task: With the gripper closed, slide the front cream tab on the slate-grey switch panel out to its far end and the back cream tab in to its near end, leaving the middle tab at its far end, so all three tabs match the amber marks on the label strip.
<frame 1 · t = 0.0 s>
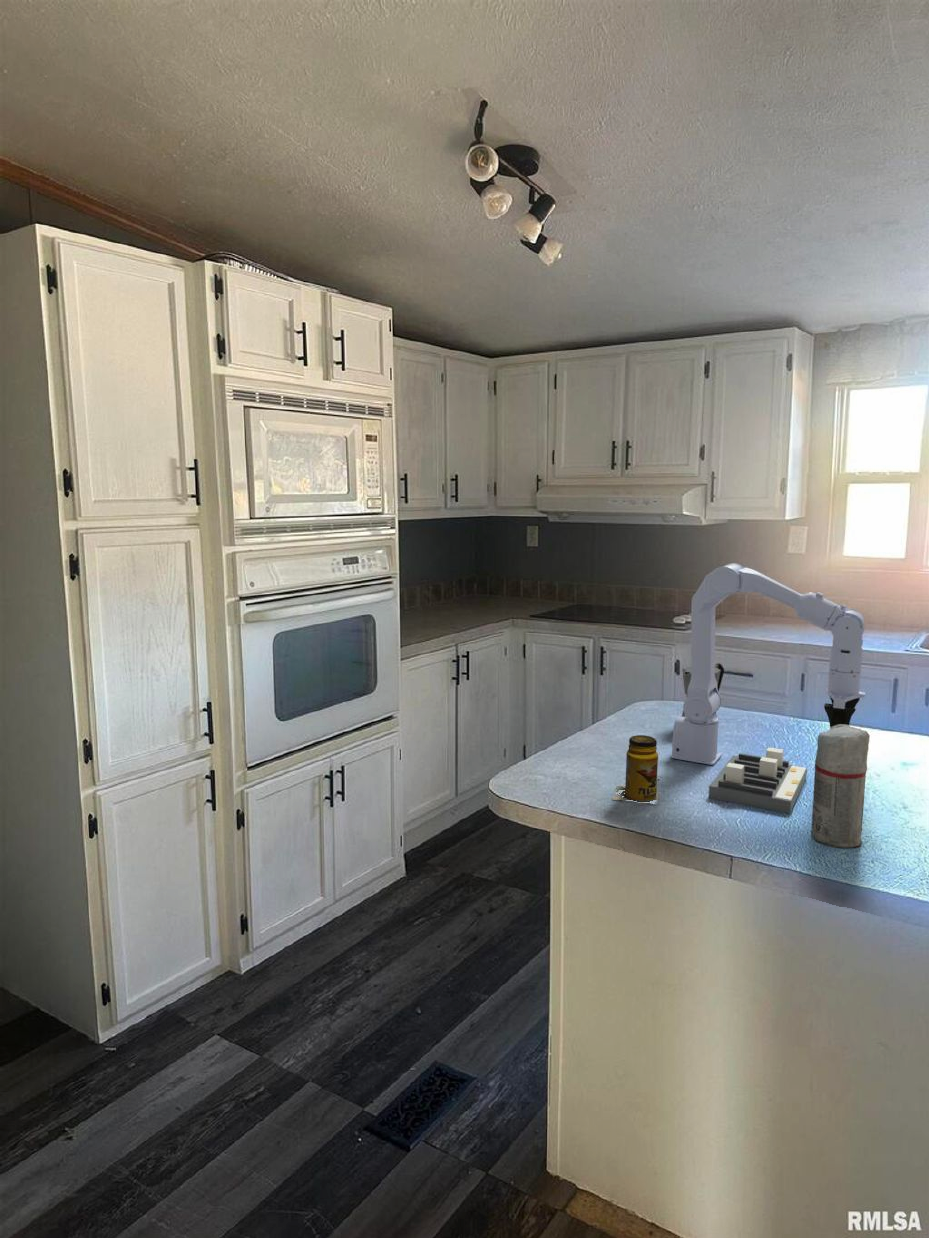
hand: (839, 734, 161), 10 cm above the countertop, tool pointing down, fingers open, 7 cm apart
condiment: (636, 797, 155), on the countertop
tab middle: (768, 768, 157), point 4 cm above the countertop, slide at 5.0 cm
tab back: (774, 758, 163), point 4 cm above the countertop, slide at 5.0 cm
coffeepot: (701, 726, 201), on the countertop
switch panel: (759, 787, 159), on the countertop
tab front: (734, 774, 154), point 4 cm above the countertop, slide at 0.0 cm
spray can: (835, 840, 136), on the countertop
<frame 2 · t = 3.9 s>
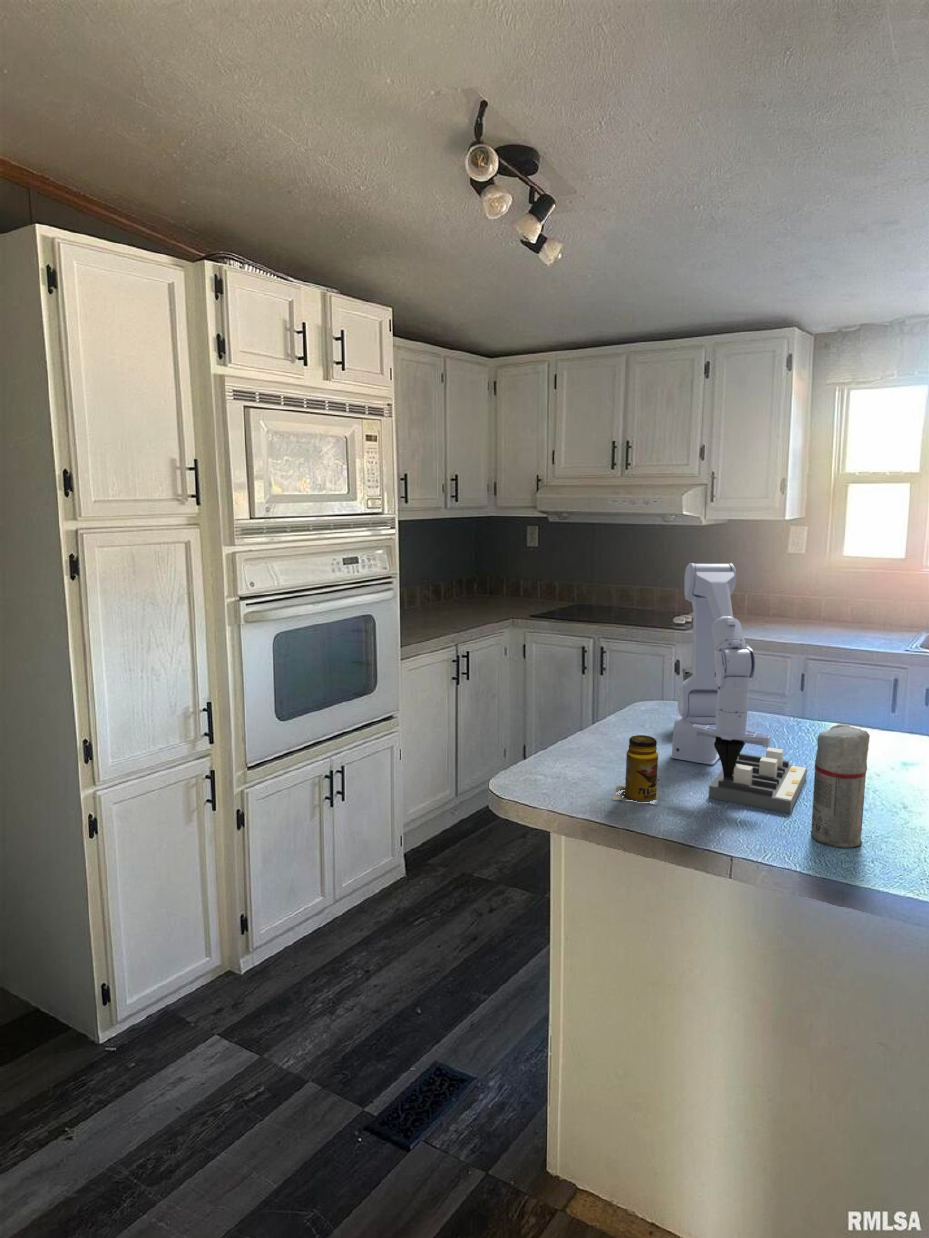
hand: (728, 775, 155), 4 cm above the countertop, tool pointing down, fingers closed
tab front: (743, 775, 153), point 4 cm above the countertop, slide at 1.6 cm, touching gripper
everything else where it was.
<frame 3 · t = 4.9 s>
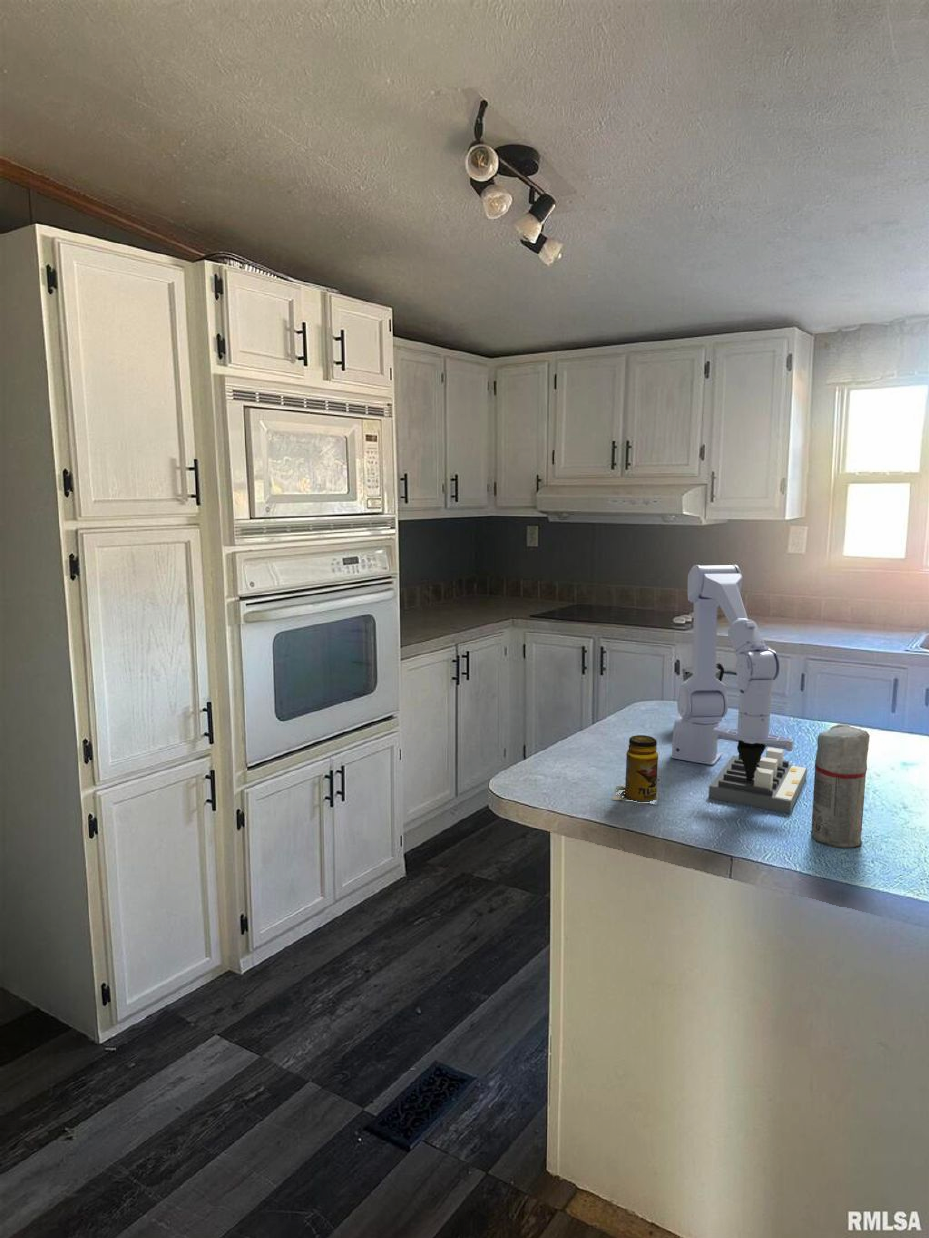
hand: (750, 779, 153), 4 cm above the countertop, tool pointing down, fingers closed
tab front: (763, 779, 151), point 4 cm above the countertop, slide at 5.4 cm, touching gripper
everything else where it was.
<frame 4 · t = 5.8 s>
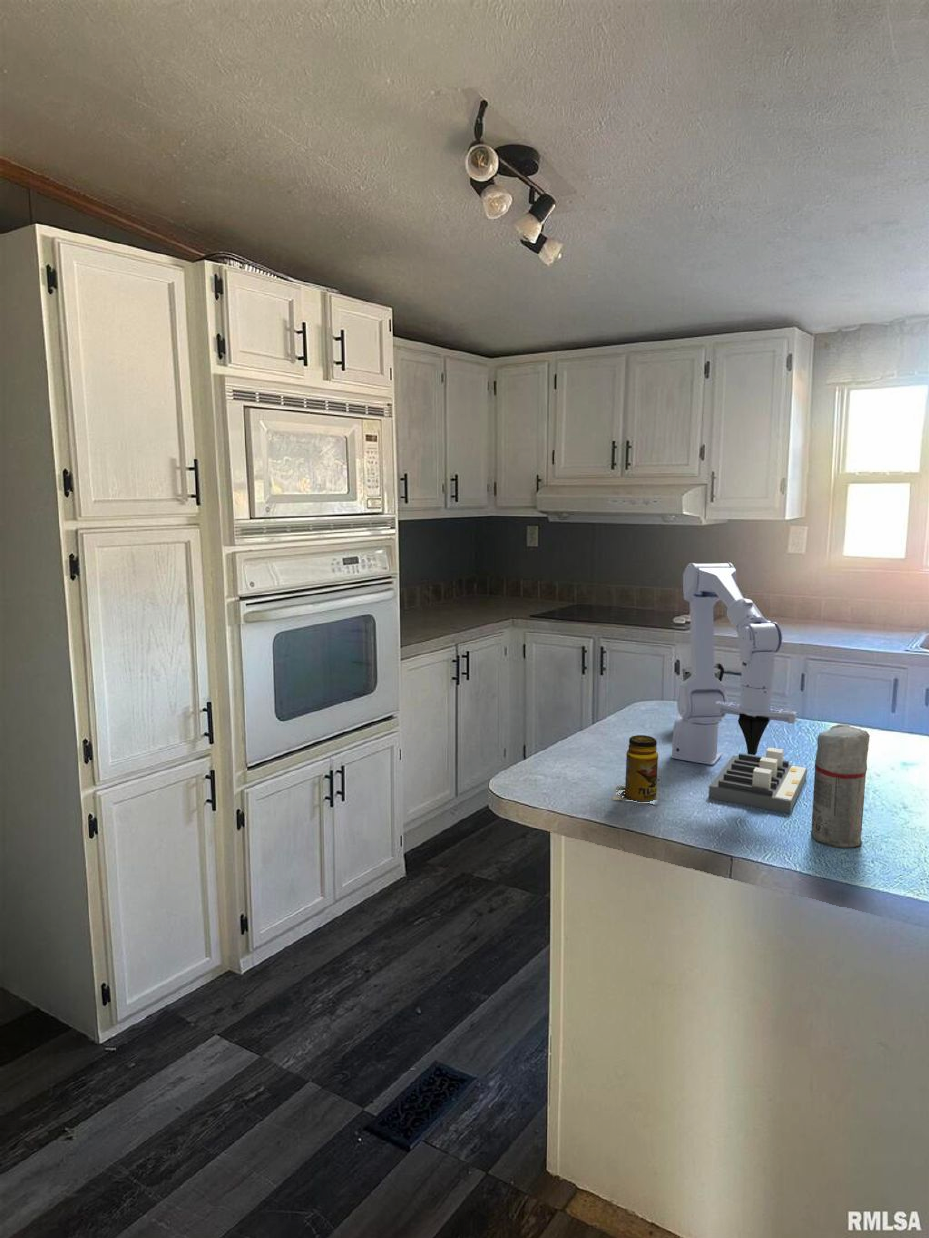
hand: (752, 753, 152), 9 cm above the countertop, tool pointing down, fingers closed
tab front: (761, 779, 152), point 4 cm above the countertop, slide at 5.1 cm
everything else where it was.
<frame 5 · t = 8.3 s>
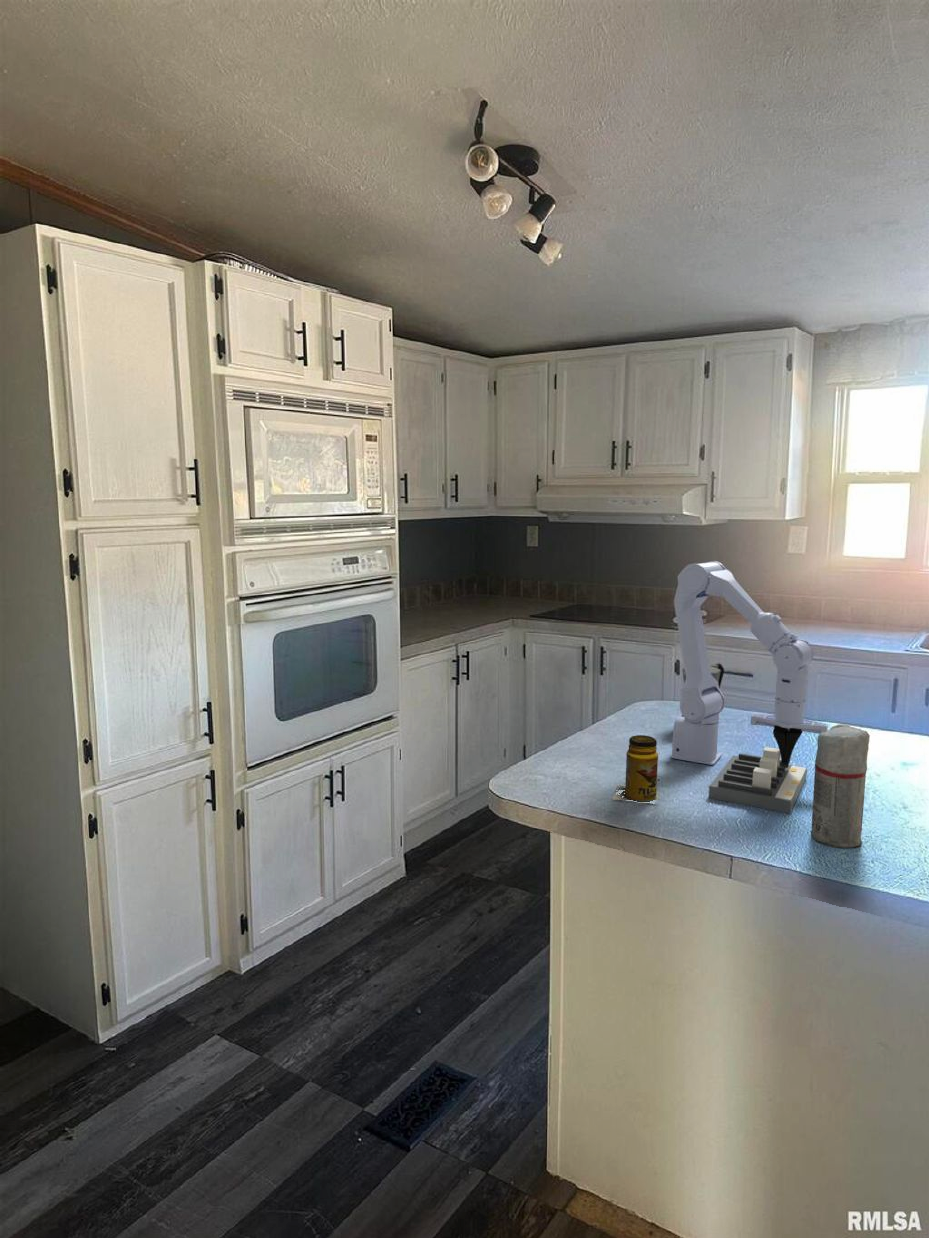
hand: (785, 762, 162), 4 cm above the countertop, tool pointing down, fingers closed
tab back: (771, 757, 164), point 4 cm above the countertop, slide at 4.4 cm, touching gripper
everything else where it was.
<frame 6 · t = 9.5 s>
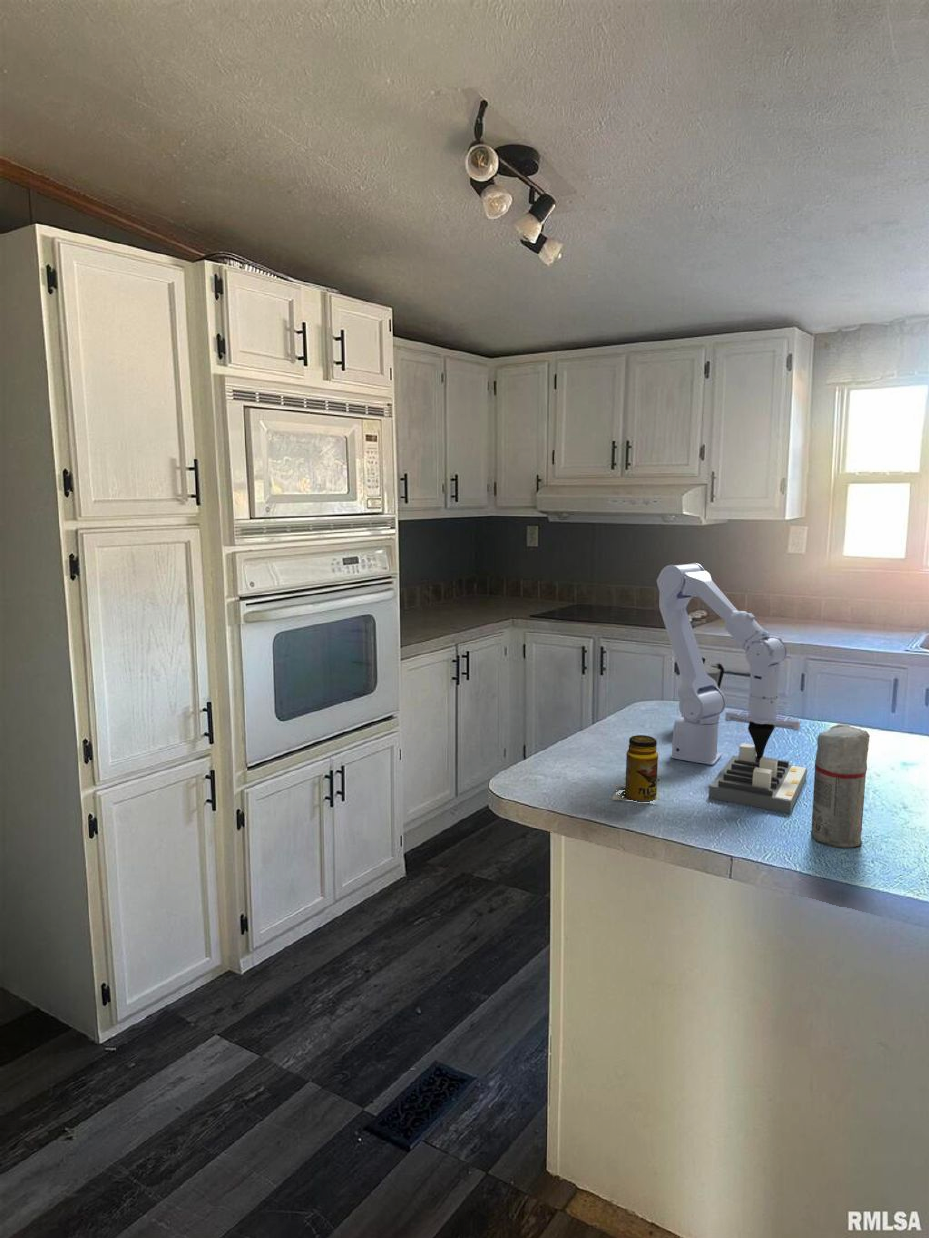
hand: (759, 758, 165), 4 cm above the countertop, tool pointing down, fingers closed
tab back: (747, 753, 166), point 4 cm above the countertop, slide at -0.4 cm, touching gripper
everything else where it was.
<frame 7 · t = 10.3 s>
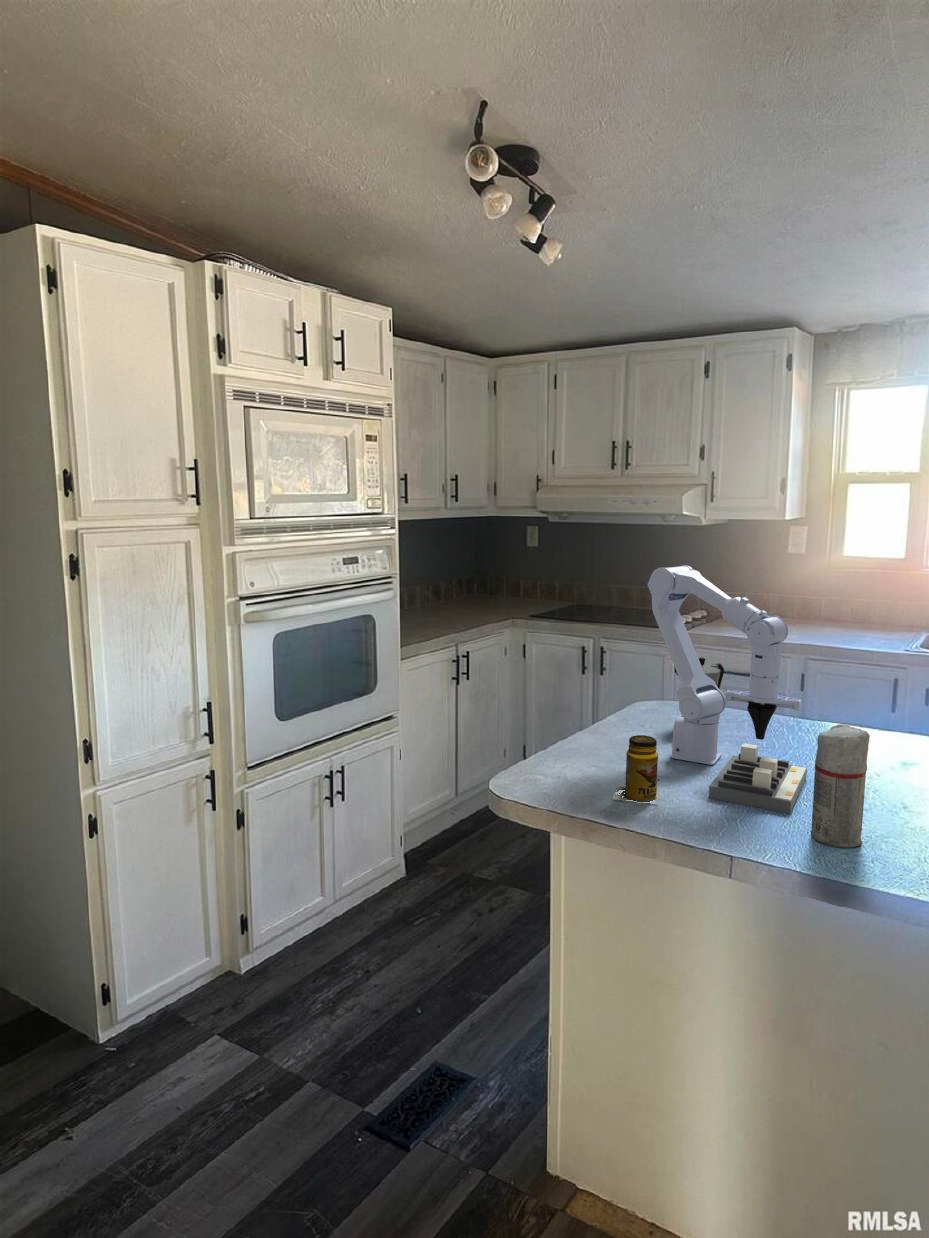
hand: (760, 738, 164), 8 cm above the countertop, tool pointing down, fingers closed
tab back: (749, 754, 166), point 4 cm above the countertop, slide at -0.1 cm
everything else where it was.
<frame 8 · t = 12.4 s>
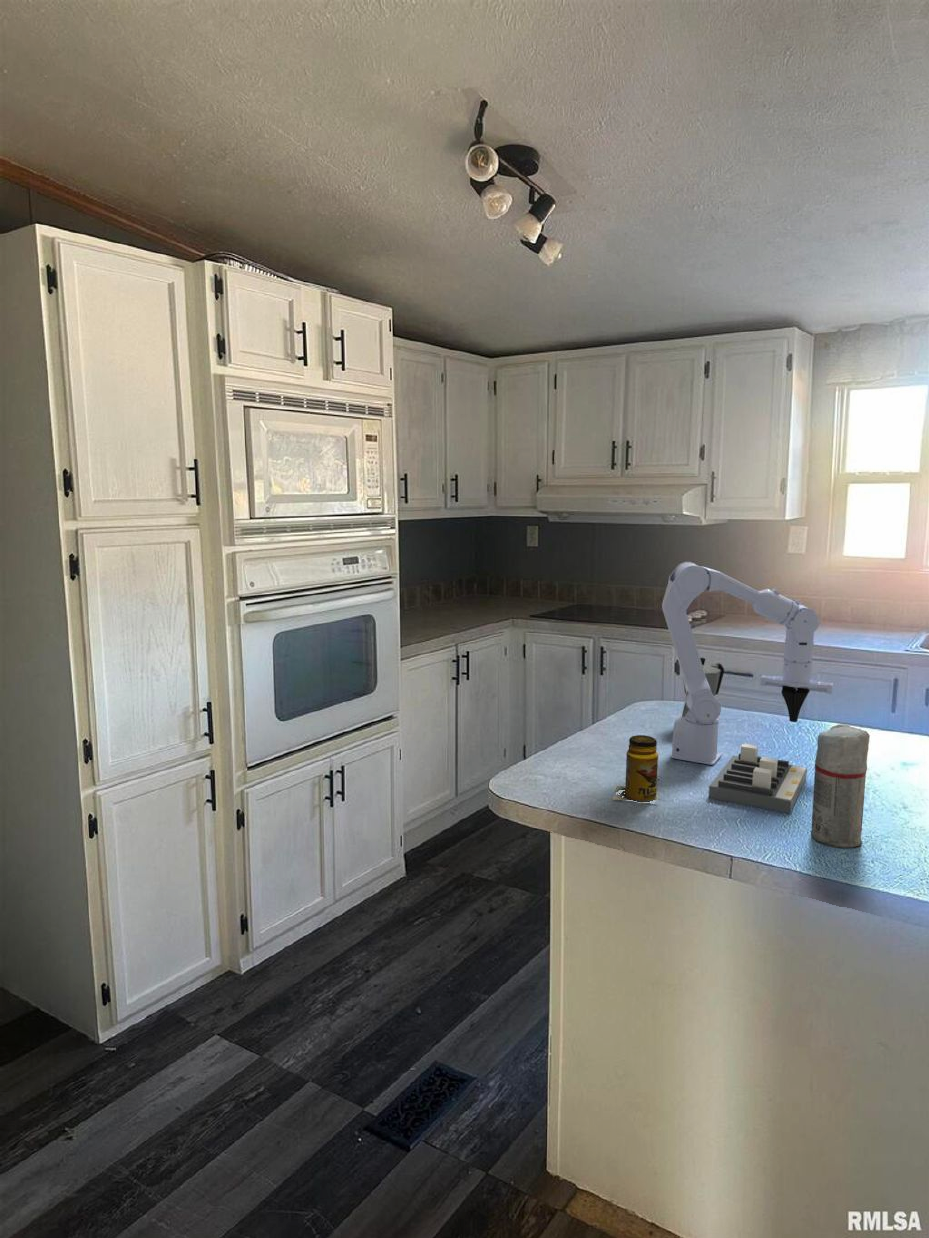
hand: (793, 720, 173), 9 cm above the countertop, tool pointing down, fingers closed
nothing on the countertop moved.
at the end: tab front slide at 5.1 cm; tab back slide at -0.1 cm; tab middle slide at 5.0 cm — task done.
